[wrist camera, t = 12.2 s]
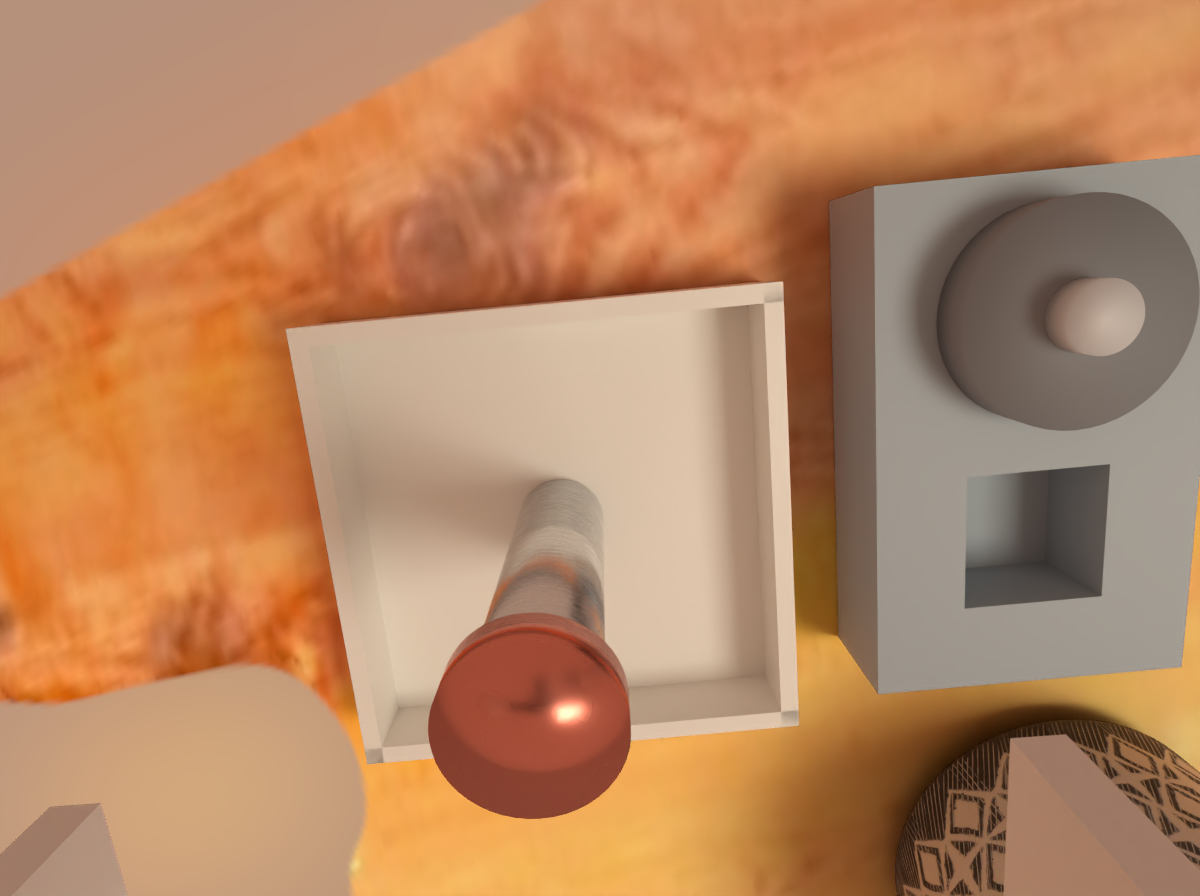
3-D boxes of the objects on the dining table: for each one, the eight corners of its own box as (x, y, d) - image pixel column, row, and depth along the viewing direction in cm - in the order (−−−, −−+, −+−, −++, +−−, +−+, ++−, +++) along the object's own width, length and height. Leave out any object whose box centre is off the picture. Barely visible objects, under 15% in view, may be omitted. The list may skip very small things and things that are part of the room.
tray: (321, 323, 25) (285, 328, 22) (760, 281, 25) (783, 281, 22) (390, 714, 29) (367, 764, 26) (777, 680, 28) (799, 725, 26)
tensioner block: (829, 201, 24) (913, 172, 18) (1127, 172, 24) (1320, 133, 18) (838, 636, 28) (912, 742, 22) (1099, 613, 28) (1250, 712, 22)
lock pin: (499, 470, 26) (412, 651, 14) (612, 460, 26) (621, 633, 14) (513, 575, 27) (444, 825, 15) (622, 565, 27) (639, 810, 15)
